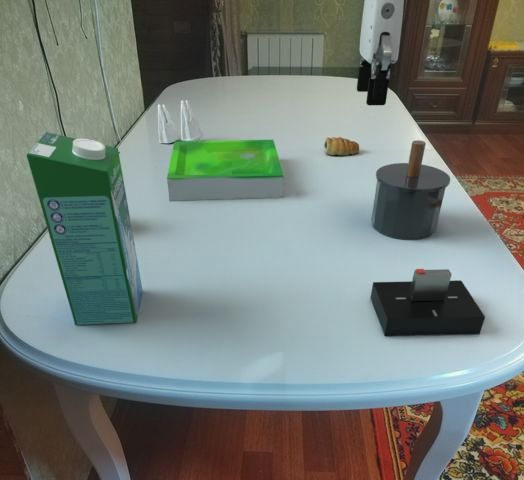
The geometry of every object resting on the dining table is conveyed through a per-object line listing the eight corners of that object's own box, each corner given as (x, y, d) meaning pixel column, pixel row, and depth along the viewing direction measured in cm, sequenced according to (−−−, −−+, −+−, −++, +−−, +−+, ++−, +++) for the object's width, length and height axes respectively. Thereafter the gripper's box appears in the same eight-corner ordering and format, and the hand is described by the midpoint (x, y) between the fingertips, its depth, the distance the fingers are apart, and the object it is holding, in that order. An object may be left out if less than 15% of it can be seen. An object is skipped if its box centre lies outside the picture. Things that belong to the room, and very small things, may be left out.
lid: (436, 168, 101) (444, 130, 97) (459, 195, 91) (469, 154, 86) (368, 169, 101) (373, 131, 96) (383, 196, 90) (390, 155, 86)
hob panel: (456, 296, 81) (461, 279, 79) (480, 333, 73) (486, 316, 71) (370, 298, 81) (373, 281, 79) (384, 336, 73) (387, 318, 71)
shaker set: (203, 141, 143) (200, 98, 136) (200, 146, 140) (197, 102, 133) (163, 139, 145) (158, 97, 138) (158, 143, 142) (153, 101, 135)
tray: (176, 161, 130) (174, 141, 127) (273, 159, 131) (273, 139, 128) (169, 200, 111) (166, 178, 108) (283, 197, 112) (283, 175, 109)
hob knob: (441, 295, 76) (449, 267, 73) (444, 300, 75) (452, 272, 72) (408, 296, 76) (414, 268, 73) (411, 301, 75) (417, 273, 72)
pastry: (356, 148, 139) (357, 133, 136) (361, 156, 133) (362, 141, 131) (322, 148, 138) (323, 134, 136) (325, 157, 133) (327, 142, 131)
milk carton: (136, 322, 76) (103, 151, 60) (74, 325, 75) (25, 153, 59) (142, 290, 83) (114, 129, 67) (86, 292, 82) (44, 130, 66)
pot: (425, 211, 106) (435, 166, 100) (444, 239, 97) (456, 190, 91) (365, 212, 106) (372, 167, 100) (378, 240, 96) (386, 191, 90)
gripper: (424, -19, 72) (403, 110, 83) (396, -26, 85) (381, 86, 96) (371, -19, 72) (357, 110, 82) (352, -26, 85) (342, 86, 96)
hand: (370, 97), depth 89 cm, fingers open, 9 cm apart
